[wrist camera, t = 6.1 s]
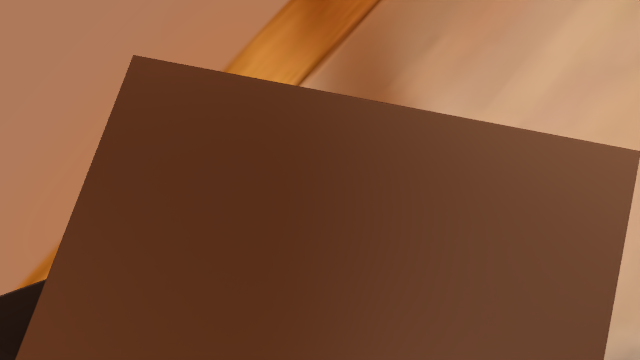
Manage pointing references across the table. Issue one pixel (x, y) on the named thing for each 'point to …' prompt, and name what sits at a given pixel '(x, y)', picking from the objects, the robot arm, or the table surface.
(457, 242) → the walnut block
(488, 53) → the table surface
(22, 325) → the robot arm
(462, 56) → the table surface
